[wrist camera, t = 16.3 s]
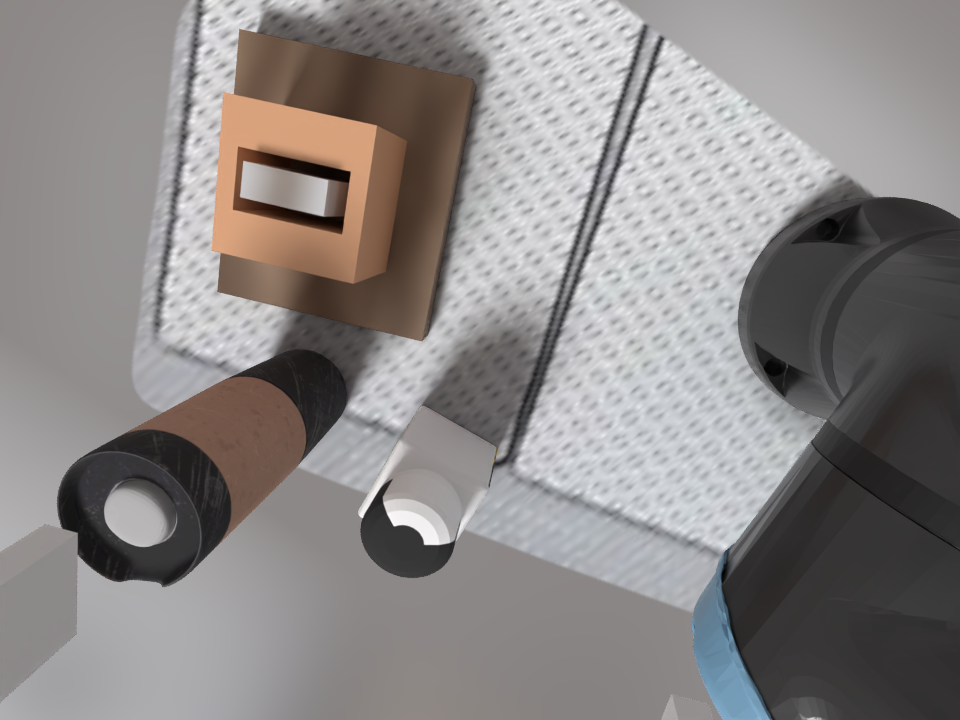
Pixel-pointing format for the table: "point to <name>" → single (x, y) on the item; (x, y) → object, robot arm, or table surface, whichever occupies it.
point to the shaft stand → (324, 190)
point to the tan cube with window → (296, 236)
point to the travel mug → (197, 468)
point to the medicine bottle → (425, 495)
